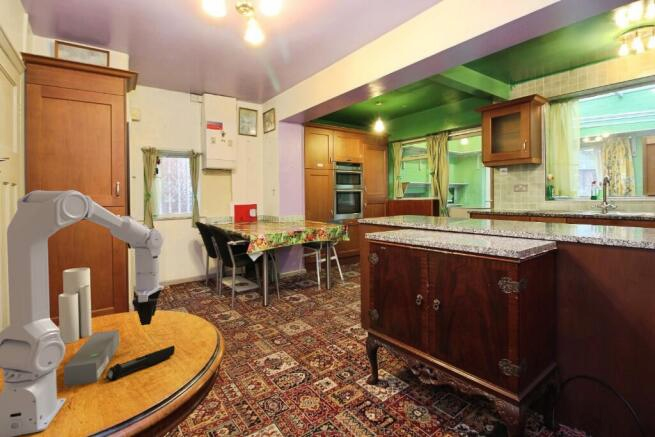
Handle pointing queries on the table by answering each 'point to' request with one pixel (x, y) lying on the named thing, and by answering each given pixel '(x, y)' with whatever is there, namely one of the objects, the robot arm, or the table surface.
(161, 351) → the electric trimmer
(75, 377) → the charging dock
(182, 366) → the table surface
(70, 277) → the vase
